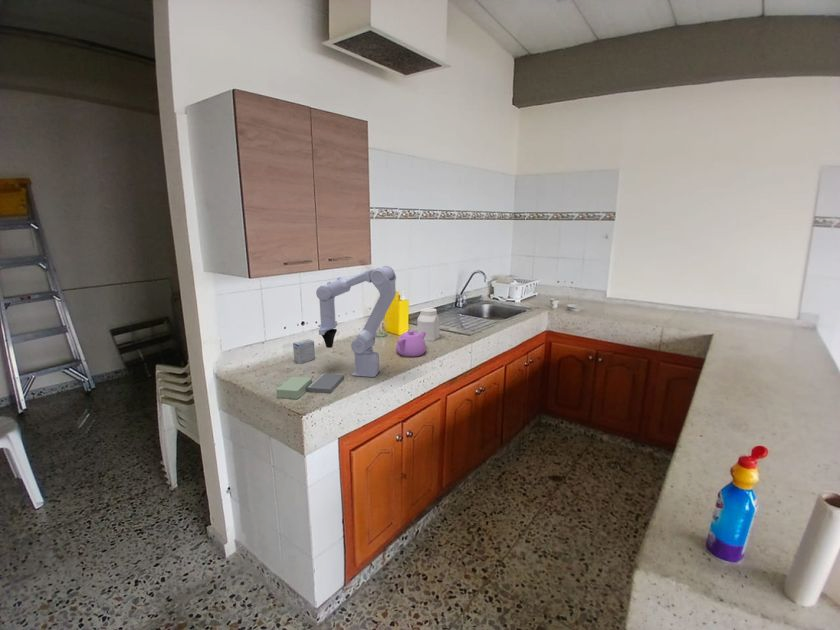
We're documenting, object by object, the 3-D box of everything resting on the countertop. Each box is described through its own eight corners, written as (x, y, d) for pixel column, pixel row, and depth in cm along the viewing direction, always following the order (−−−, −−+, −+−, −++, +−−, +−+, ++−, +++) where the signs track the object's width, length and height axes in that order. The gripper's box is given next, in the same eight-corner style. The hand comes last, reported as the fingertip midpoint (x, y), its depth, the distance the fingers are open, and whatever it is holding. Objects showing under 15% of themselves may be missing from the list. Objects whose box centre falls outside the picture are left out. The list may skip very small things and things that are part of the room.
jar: (431, 342, 209) (431, 313, 205) (414, 339, 213) (414, 310, 210) (441, 336, 219) (442, 308, 215) (425, 334, 223) (425, 306, 220)
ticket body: (344, 378, 162) (343, 374, 162) (330, 393, 149) (330, 389, 149) (322, 377, 164) (321, 373, 164) (306, 391, 151) (306, 387, 150)
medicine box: (309, 357, 187) (308, 338, 185) (315, 359, 184) (314, 340, 182) (294, 362, 181) (292, 342, 179) (300, 364, 178) (298, 344, 176)
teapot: (436, 349, 198) (436, 327, 195) (411, 361, 182) (411, 337, 179) (412, 344, 206) (412, 323, 203) (386, 355, 190) (386, 332, 187)
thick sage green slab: (312, 385, 156) (311, 377, 155) (297, 399, 144) (297, 390, 144) (292, 384, 157) (292, 376, 156) (277, 397, 146) (276, 389, 145)
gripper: (325, 310, 175) (326, 341, 178) (310, 318, 161) (312, 352, 164) (341, 311, 174) (342, 342, 177) (328, 319, 160) (329, 353, 163)
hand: (329, 347), depth 170 cm, fingers closed
